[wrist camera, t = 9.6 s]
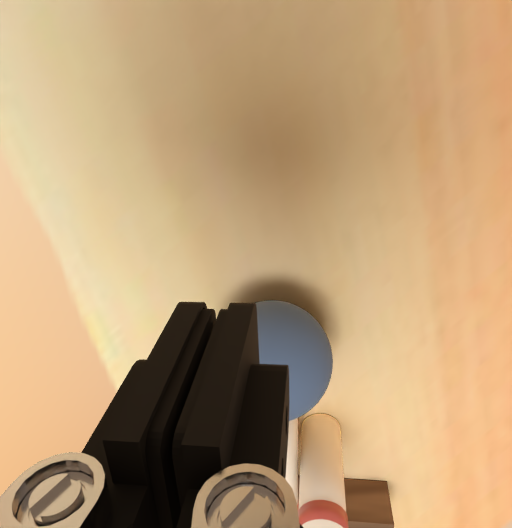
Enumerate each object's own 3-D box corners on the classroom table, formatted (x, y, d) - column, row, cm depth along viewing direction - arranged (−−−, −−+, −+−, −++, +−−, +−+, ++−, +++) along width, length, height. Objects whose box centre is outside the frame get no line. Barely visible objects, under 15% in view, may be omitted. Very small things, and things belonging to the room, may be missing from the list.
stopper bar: (240, 471, 30) (233, 512, 28) (386, 481, 29) (394, 524, 27) (241, 488, 31) (234, 529, 28) (384, 498, 30) (391, 542, 27)
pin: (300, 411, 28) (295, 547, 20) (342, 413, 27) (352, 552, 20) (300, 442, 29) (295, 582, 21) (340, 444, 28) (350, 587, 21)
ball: (210, 447, 22) (228, 359, 27) (333, 452, 21) (329, 361, 26) (192, 357, 19) (216, 277, 24) (337, 360, 18) (331, 277, 23)
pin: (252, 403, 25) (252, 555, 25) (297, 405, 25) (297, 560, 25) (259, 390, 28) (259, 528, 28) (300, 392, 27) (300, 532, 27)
